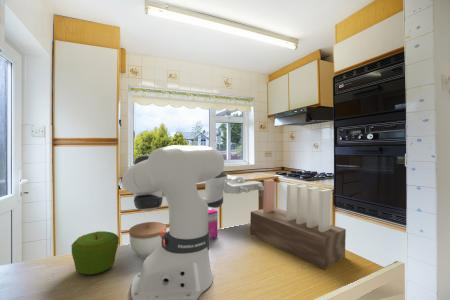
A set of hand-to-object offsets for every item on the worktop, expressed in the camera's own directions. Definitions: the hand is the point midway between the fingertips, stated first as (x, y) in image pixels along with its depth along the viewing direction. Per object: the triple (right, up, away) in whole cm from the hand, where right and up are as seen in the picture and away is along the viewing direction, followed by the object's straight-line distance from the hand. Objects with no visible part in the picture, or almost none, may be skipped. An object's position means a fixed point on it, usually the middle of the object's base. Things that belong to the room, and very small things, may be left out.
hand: (255, 189), depth 106 cm
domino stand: (+12, -19, -17) cm, 28 cm away
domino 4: (+17, -9, -24) cm, 31 cm away
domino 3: (+15, -9, -21) cm, 27 cm away
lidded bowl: (-42, -19, -25) cm, 53 cm away
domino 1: (+5, -8, -7) cm, 12 cm away
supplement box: (-22, -18, -11) cm, 30 cm away
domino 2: (+12, -9, -17) cm, 23 cm away
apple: (-55, -19, -36) cm, 68 cm away
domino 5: (+20, -9, -28) cm, 36 cm away
